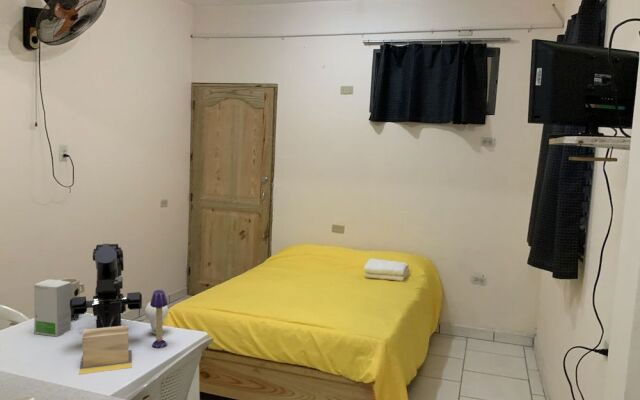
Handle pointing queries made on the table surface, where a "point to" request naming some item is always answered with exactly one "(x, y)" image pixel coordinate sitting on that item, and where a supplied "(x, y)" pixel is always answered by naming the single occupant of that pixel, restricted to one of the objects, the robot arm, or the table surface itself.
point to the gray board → (106, 366)
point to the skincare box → (52, 307)
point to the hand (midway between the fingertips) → (106, 331)
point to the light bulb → (154, 316)
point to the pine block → (105, 346)
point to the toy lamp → (159, 316)
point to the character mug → (74, 290)
